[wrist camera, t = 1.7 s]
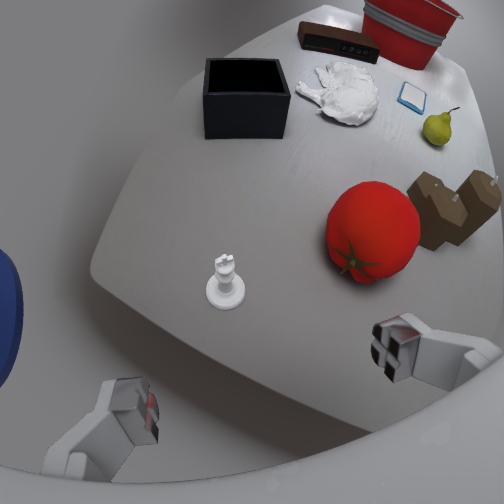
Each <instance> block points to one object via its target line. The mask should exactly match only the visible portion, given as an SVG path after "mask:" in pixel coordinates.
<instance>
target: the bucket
mask: <svg viewBox="0 0 504 504" xmlns="http://www.w3.org/2000/svg"><path fill="white" fill-rule="evenodd" d="M364 2H365V7H364V8H363V11H364V19H363V27H362V34H365V35H368V36H369V37H370V38H371V39H372V41H373V42H374V43H375V44H376V46H377V47H378V48H379V49H380V54H379V55H380V56H382V57H384V58H386V59H388V60H390V61H392V62H394V63H397V64H399V65H402V66H404V67H407V68H410V69H415V70H423V69H425V66H426V65H427V63H428V62H429V60H430V59H431V57H432V56H433V54H434V53H435V51H436V49H437V48H438V47H439V46H441V44H442V41H443V40H444V39H445V38H446V34H447V33H448V31H449V29H450V28H451V26H452V25H453V23H454V21H455V20H456V18H460V17H458V16H461V17H462V15H460V14H459V13H458V12H457V11H456V10H455V9H453V8H452V7H451V6H449V5H448V4H446V3H445V2H443V1H441V0H364ZM460 19H464V18H463V17H462V18H460Z"/></svg>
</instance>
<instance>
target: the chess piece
mask: <svg viewBox="0 0 504 504" xmlns="http://www.w3.org/2000/svg"><path fill="white" fill-rule="evenodd" d="M234 267H235V264H234V261H233V256H232V255H230V256H226V254H223V255H221V257H219V258H218V259H215V269H216V271H215V274H214V275H213V276H212V277H211V278H210V279H209V281H208V283H207V286H206V296H207V298H208V300H209V302H210V303H211V304H212V305H213V306H215V307H216V308H219V309H223V310H228V309H232V308H235V307H237V306H238V305H239V304H240V303H241V302H242V301H243V299H244V297H245V285H244V282H243V280H242V279H241V278H240V277H239V276H238V275H237V274H235V272H234Z"/></svg>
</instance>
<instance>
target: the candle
mask: <svg viewBox="0 0 504 504" xmlns="http://www.w3.org/2000/svg"><path fill="white" fill-rule="evenodd" d="M497 179H498V176H496V177H494V179H493V178H492V177H490V176H489V175H487V174H486V173H484V172H482V171H478V170H474V171H473V172H472V173H471V174H470V176H469V177H468V178H467V179H466V180H465V182H464V183H463V184H462V185H461V186H460V187H459V188H458V190H457V191H456V192H454V191H452V190H450V189H449V188H447V187H445V186H444V184H443V182H442V181H441V180H440V179H438V178H436V177H434V176H432V175H430V174H428V173H426V172H423V173H422V174H421V175H420V176H419V177H418V178H417V179H416V180H415V182H414V183H413V184H412V186H411V187H410V189H409V190H408V191H407V194H408V196H409V198H410V200H411V202H412V204H413V205H414V207H415V208H416V210H417V212H418V214H419V219H420V240H419V243H418V245H421V246H423V247H425V248H428V249H430V250H432V251H435V250H436V249H437V248H438V247H439V246H440V245H442V244H443V243H444V242H445V241H448V242H450V243H452V244H454V245H456V246H459V245H460V244H461V243H462V242H463V241H465V240H466V239H467V238H468V237H469V236H470V235H472V234H473V233H474V232H475V231H476V230H477V229H478V228H480V227H481V226H482V225H483V224H484V223H485V222H486V221H487V220H489V219H490V218H491V217H492V216H493V215H494V214H495V213H496V212H497V211H498V209H499V206H500V203H501V200H502V198H501V191H500V189H499V187H498V186H497V184H496V181H497Z"/></svg>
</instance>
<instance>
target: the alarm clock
mask: <svg viewBox="0 0 504 504" xmlns="http://www.w3.org/2000/svg"><path fill="white" fill-rule="evenodd" d="M298 37H299V41H300V44H301V47H302V49H304V50H310V51H316V52H322V53H327V54H333V55H338V56H342V57H347V58H351V59H356V60H360V61H364V62H368V63H372V64H375V63H376V62H377V60H378V57H379V54H380V49H379V48H378V47H377V46H376V44H375V43H374V42H373V41H372V39H371V38H370V37H369V36H368V35H365V34H361V33H358V32H354V31H350V30H345V29H341V28H336V27H332V26H327V25H322V24H316V23H310V22H304V21H301V22H300V23H299V28H298Z"/></svg>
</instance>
